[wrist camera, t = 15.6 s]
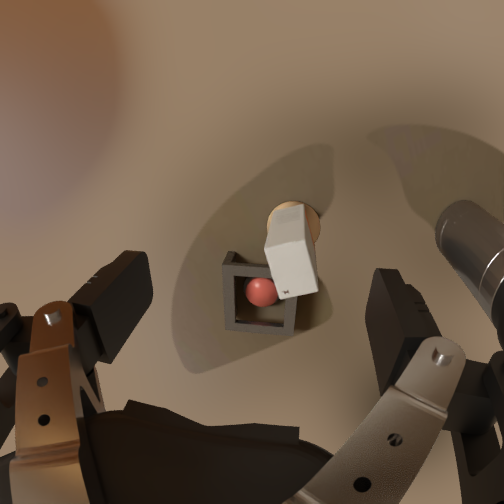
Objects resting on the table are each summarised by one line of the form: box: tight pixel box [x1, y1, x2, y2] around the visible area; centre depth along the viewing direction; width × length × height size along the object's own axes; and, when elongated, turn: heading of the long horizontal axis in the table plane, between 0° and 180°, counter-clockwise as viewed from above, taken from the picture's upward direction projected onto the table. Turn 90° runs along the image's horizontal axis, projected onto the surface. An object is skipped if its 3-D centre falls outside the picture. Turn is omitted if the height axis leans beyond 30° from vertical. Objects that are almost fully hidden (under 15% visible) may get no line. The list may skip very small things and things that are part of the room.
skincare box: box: [264, 204, 319, 299], centre depth 36 cm, size 6×4×12 cm
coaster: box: [267, 201, 320, 243], centre depth 41 cm, size 7×7×1 cm
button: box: [243, 277, 279, 307], centre depth 45 cm, size 6×6×1 cm
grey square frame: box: [222, 251, 297, 336], centre depth 45 cm, size 10×11×4 cm
